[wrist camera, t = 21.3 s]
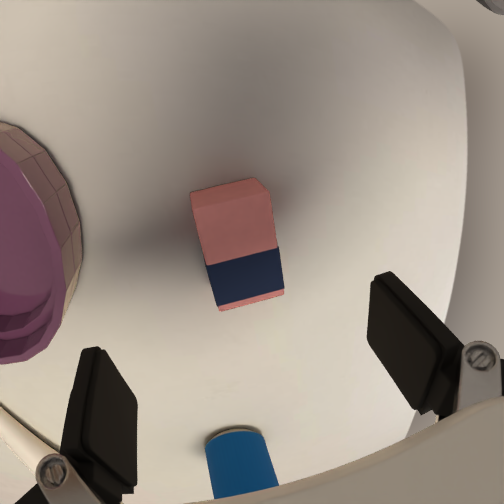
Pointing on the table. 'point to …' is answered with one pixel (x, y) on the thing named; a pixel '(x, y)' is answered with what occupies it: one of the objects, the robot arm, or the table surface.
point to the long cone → (22, 441)
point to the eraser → (238, 242)
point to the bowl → (33, 247)
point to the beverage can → (239, 463)
